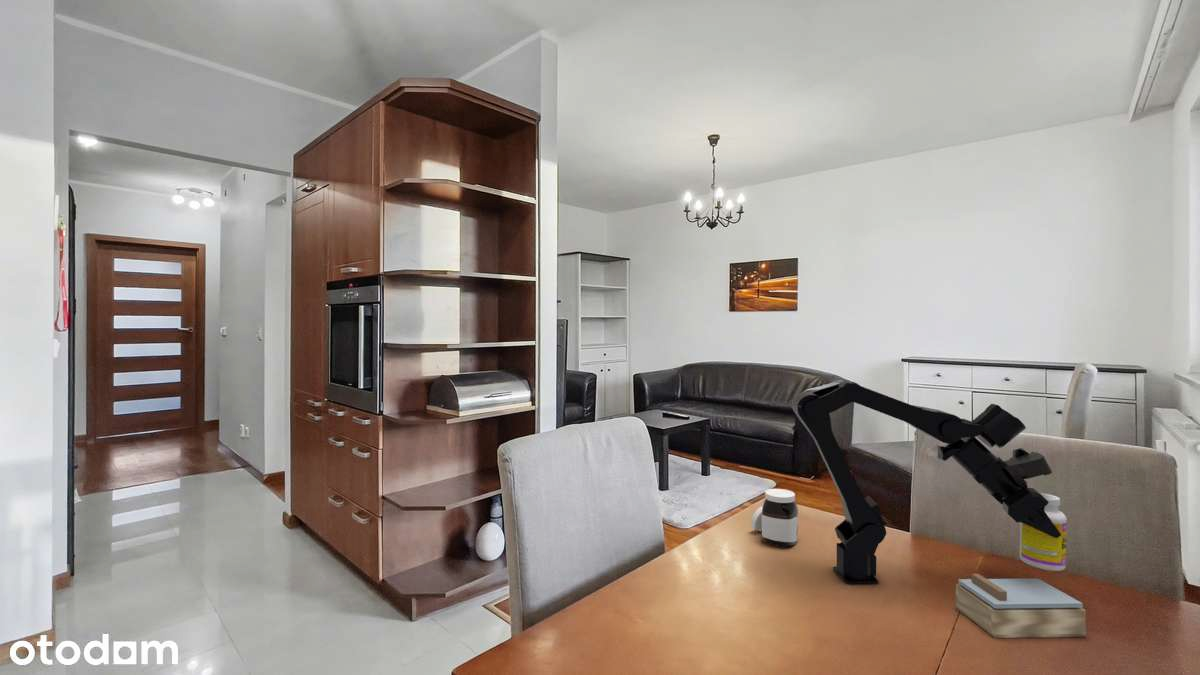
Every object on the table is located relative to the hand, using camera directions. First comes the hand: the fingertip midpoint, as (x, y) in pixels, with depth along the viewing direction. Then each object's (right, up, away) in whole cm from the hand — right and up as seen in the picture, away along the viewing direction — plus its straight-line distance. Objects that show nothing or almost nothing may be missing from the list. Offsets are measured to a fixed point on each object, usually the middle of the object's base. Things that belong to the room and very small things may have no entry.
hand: (1051, 529), depth 96 cm
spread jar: (-42, -13, +30) cm, 53 cm away
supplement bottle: (-1, -7, +1) cm, 7 cm away
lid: (-12, -8, -7) cm, 17 cm away
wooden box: (-12, -13, -7) cm, 19 cm away
